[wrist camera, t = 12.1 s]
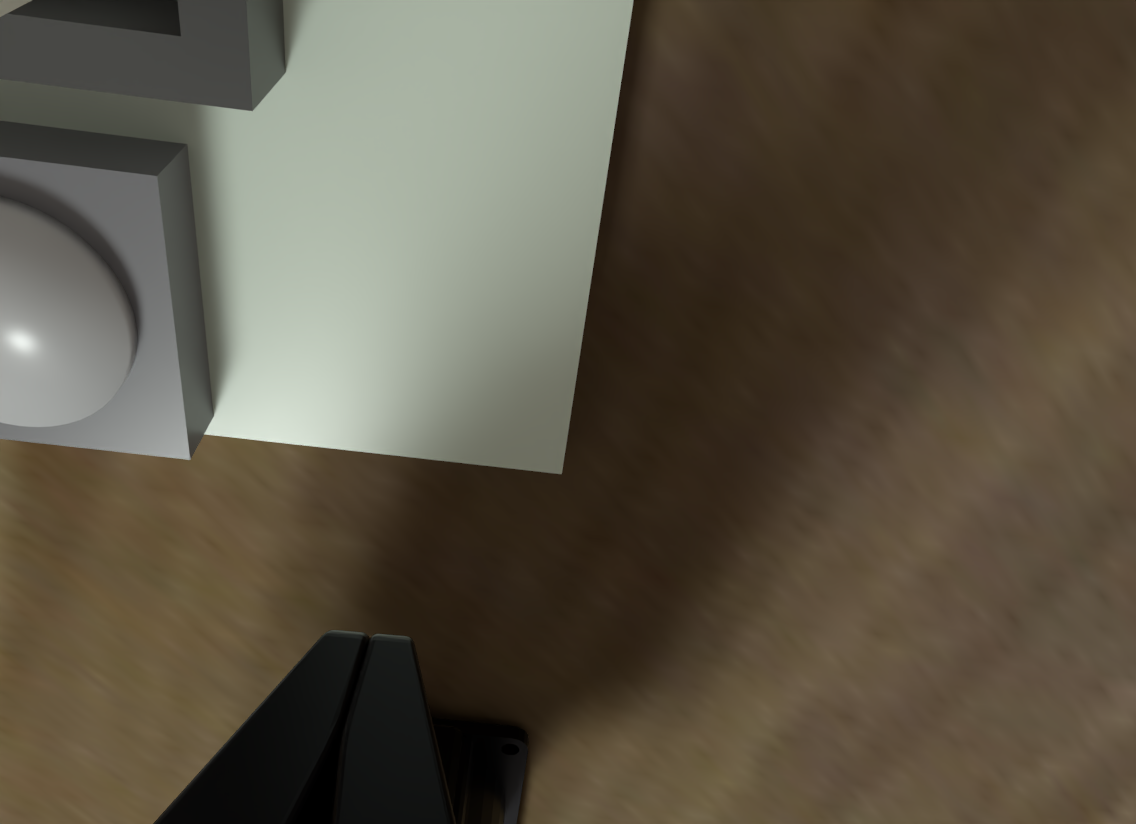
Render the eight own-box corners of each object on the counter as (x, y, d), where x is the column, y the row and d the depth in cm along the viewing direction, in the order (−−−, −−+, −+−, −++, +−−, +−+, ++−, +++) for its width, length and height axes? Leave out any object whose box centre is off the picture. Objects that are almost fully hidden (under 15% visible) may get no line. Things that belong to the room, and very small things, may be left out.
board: (563, 446, 23) (559, 536, 20) (-69, 375, 22) (-152, 458, 20) (734, -694, 13) (765, -791, 10) (-430, -891, 12) (-695, -1044, 10)
